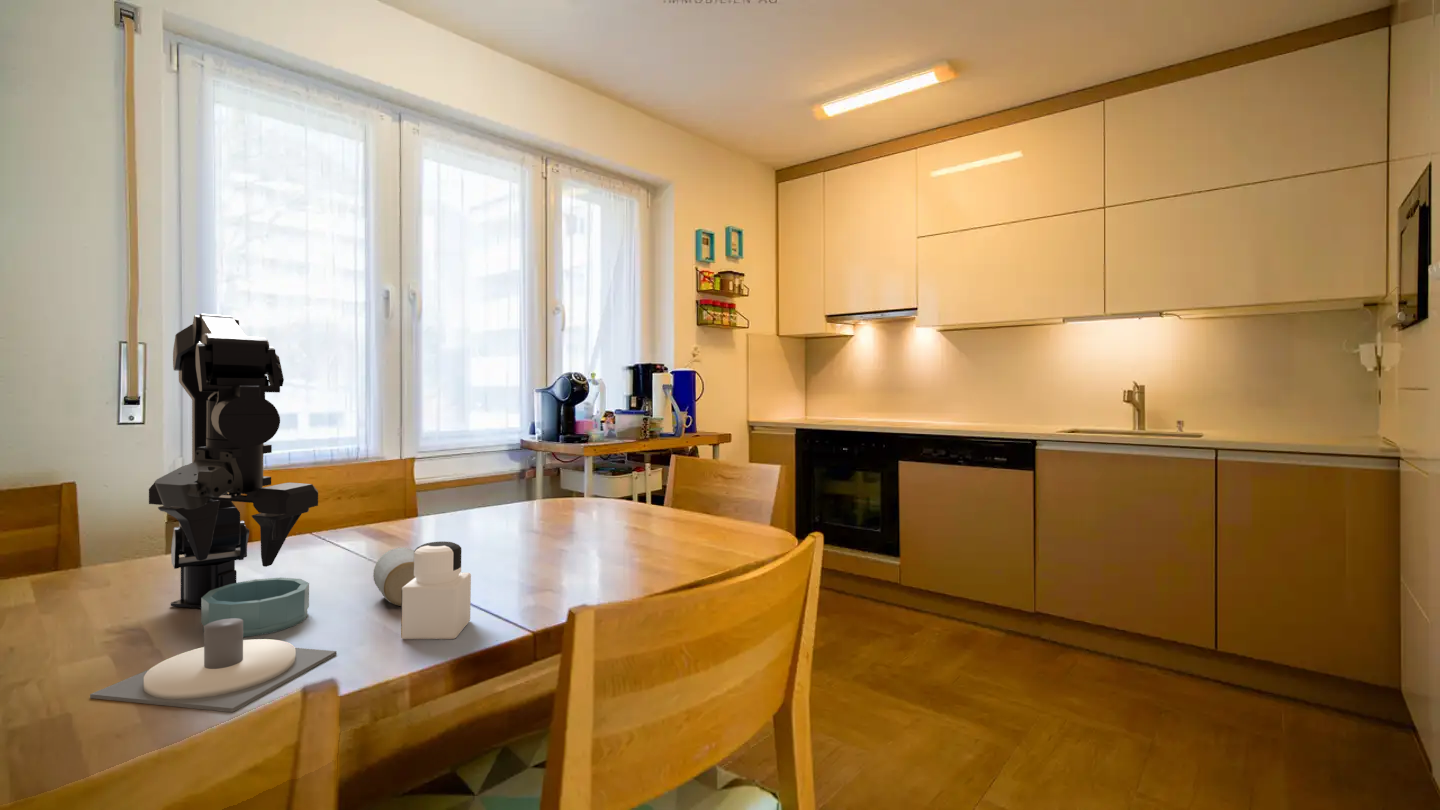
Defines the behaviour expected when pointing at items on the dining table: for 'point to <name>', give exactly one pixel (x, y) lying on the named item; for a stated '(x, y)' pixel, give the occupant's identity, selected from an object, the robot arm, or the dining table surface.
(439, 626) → the medicine bottle
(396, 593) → the ceramic mug
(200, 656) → the lid
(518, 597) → the dining table surface
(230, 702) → the mat
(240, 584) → the bowl
